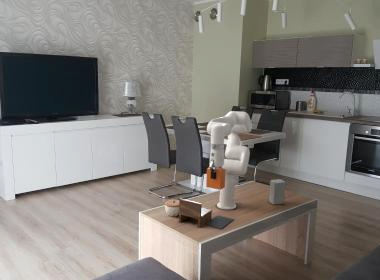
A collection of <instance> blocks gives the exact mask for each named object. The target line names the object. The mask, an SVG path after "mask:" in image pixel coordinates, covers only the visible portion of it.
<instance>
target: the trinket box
mask: <svg viewBox="0 0 380 280" xmlns="http://www.w3.org/2000/svg"><path fill="white" fill-rule="evenodd" d="M164 210H165V213H167V214H168V216H170V217H179V199H167V200H165V201H164Z"/></svg>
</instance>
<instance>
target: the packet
mask: <svg viewBox="0 0 380 280" xmlns="http://www.w3.org/2000/svg"><path fill="white" fill-rule="evenodd" d="M213 169H214V168H213ZM225 173H226V169H224V168H216V179H211V172H210V168H209V167H207V168H206V180H205V181H206V182H205V183H206V184H205V185H206V186H205V187H206V188H210V189H213V190H219V191H220V190H221V189H223V188H224V187H225Z"/></svg>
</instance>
